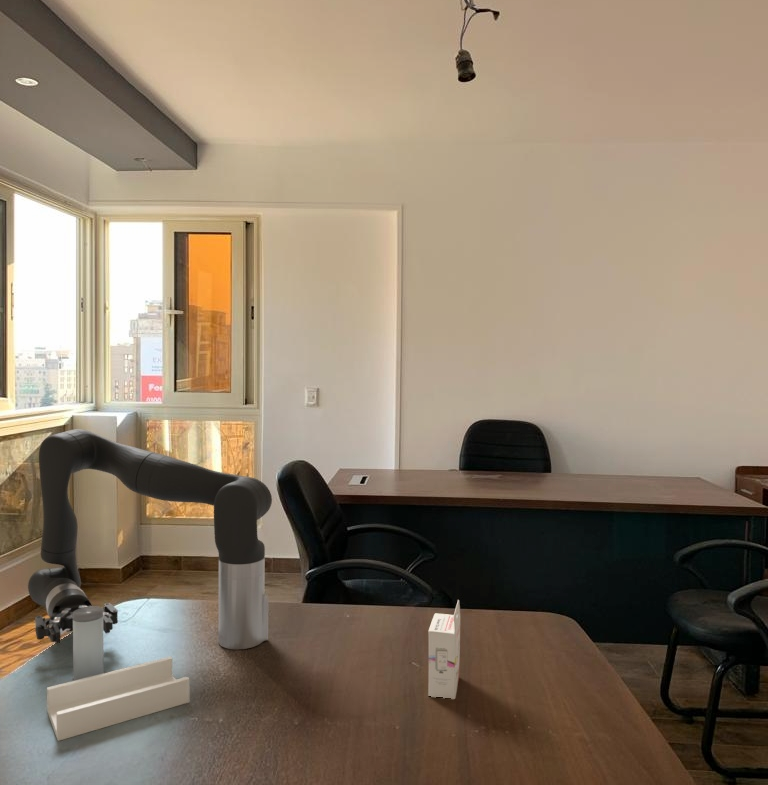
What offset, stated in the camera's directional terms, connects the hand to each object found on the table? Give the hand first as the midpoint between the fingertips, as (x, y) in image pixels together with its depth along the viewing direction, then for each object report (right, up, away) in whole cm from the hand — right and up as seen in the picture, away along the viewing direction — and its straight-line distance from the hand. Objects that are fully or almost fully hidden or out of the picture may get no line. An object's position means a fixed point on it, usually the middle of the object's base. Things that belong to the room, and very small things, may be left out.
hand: (83, 633), depth 120 cm
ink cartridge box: (+66, -8, -5) cm, 67 cm away
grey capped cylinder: (+2, -7, -3) cm, 8 cm away
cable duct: (+12, -7, -13) cm, 19 cm away
